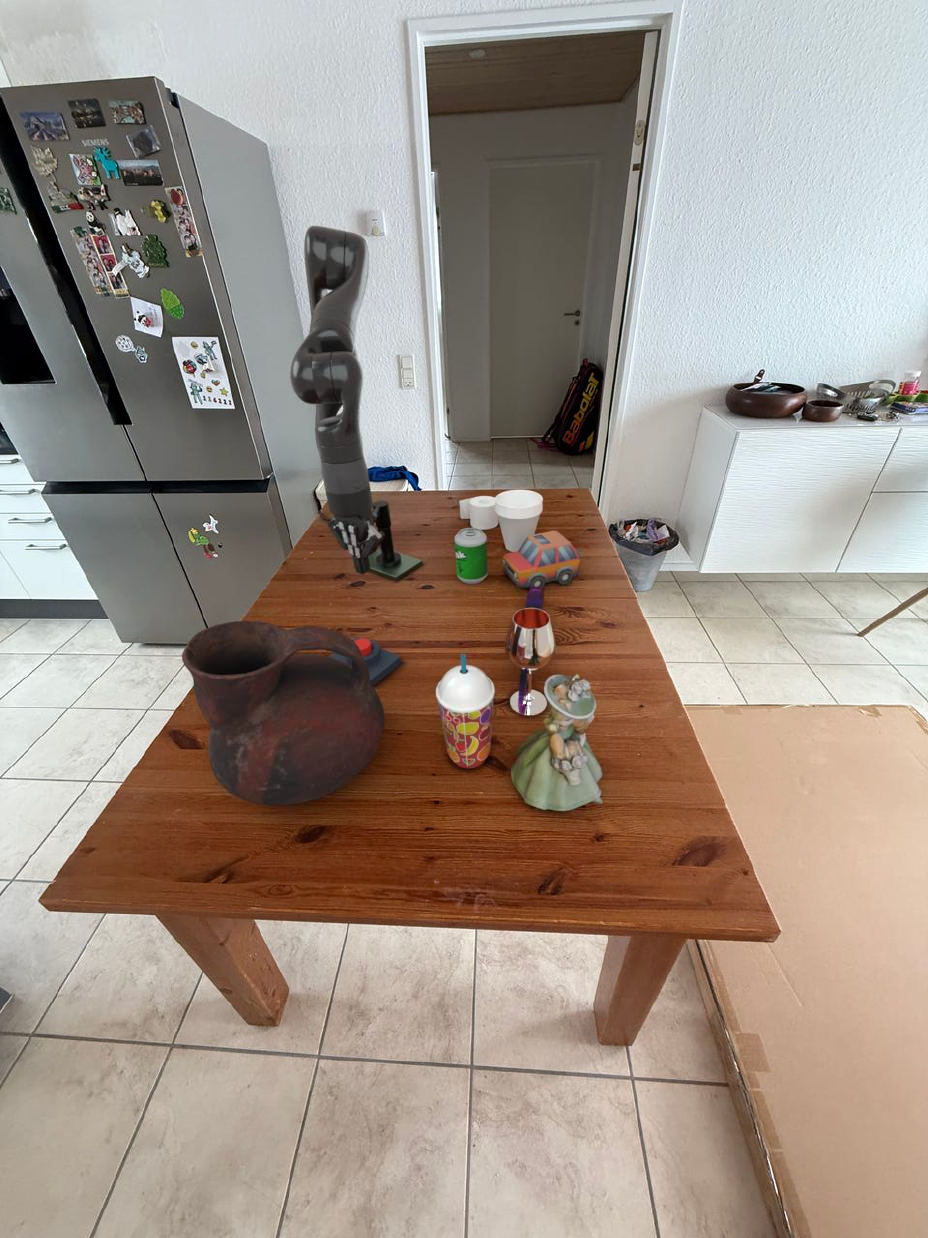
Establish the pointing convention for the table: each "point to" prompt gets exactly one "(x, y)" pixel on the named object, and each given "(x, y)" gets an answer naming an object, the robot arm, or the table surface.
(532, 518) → the cup
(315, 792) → the jug
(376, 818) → the table surface
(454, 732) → the smoothie
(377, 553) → the tap base
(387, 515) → the spout
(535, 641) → the wineglass
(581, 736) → the figurine
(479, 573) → the soda can
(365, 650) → the button
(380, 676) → the button box
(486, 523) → the toilet paper
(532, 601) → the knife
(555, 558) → the toy car
